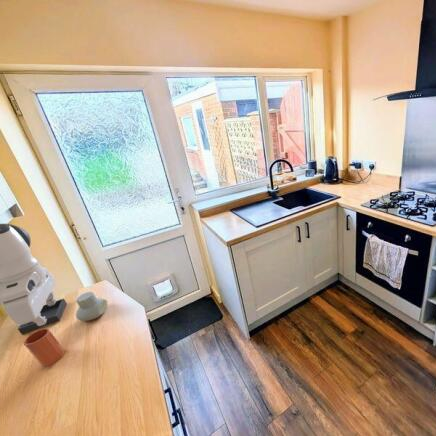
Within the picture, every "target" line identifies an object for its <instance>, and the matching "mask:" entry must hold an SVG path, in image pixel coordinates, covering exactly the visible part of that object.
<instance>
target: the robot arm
mask: <svg viewBox="0 0 436 436" xmlns="http://www.w3.org/2000/svg"><path fill="white" fill-rule="evenodd" d="M31 242H32V241H31V236H30V233H29V232H27V230H25V229H24V228H23V227H20V226H17V225H15V224H11V223H0V304H2V308H3V310H4V312H5V313H6V314H7V316H8V317H9V318H10V319H11V320H12V321H13V323H14V324H16V325H19V326H20V325H23V324H26V323H29V322H31V321H32V322H35V323H36V324H37V325H38V326H42V325H44V324H46V321H47V319H46V317H45V316H44V317H42V316H40V315H41V313H40V311H41V310H42V308H43V306H44V305H46V304H47V305H48V306H52V305H54V304H55V303H56V301H57V299H56V298H55V294H54V290H53V289H54V287H55V285H56V283H57V282H56V279H55V277H54V276H53V274H52V273H51V272H50V271H49V269H48V268H47V267H45V266H42V265H41V264H40V262H39V260H38V259H37V258H36V257H34V255H32V252H31V245H32V243H31Z"/></svg>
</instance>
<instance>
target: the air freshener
mask: <svg viewBox="0 0 436 436" xmlns="http://www.w3.org/2000/svg"><path fill="white" fill-rule="evenodd" d="M75 302H76V303H77V305H78V308H77V310H76V313H75V317H76V319H77V320H78V321H80V322H90V321H92V320H95V319H97V318H99V317H100V316H102V315H103V314H104V313H105V312H106V310H107V308H108V301H107V299H105V298H103V297H97V296H96V295H95V293H94V292H93V291H87V292H84V293H82V294H80V295H79V296H78V297H77V298H76V300H75Z"/></svg>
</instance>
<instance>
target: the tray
mask: <svg viewBox="0 0 436 436" xmlns="http://www.w3.org/2000/svg"><path fill="white" fill-rule="evenodd" d="M67 305H68V303H67V301H66V300H65V298H61V299H57V300H56V303H55V304H54V305H52V306H48V305H47V303H45V304H44V306H43V308H42V310H41V311H40V313H41V315H40V316H42V317H44V316H45V317H46V319H47V321H46V324H44V325H42V326H38V325H37V324H36V323H35V322H32V321H31V322H29V323H26V324H23V325H19V326H18V328H17V331H18V332H19V333H20V334H21V335H22V336H23V335H26V334H28V333H32V332H35V331H37V330H40V329H43V328H44V327H47V326H50V325H52V324H55V323H58V322H60V321H61V319H62V317H63V314H64V312H65V309H66V307H67Z"/></svg>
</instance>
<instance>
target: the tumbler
mask: <svg viewBox="0 0 436 436" xmlns="http://www.w3.org/2000/svg"><path fill="white" fill-rule="evenodd" d="M22 343H23V345H24V347H26V348H27V350H28V351H29V353H30V354H31V356H33V357H34V359H35V360H36V361H37V362H38V364H39V365H40V366H41V367H48V366H51V365H54V364H55V363H57V362H58V361H60V360H61V359H62V357H64V355H65V352H66V351H65V349H64V348H63V346H62V345H61V344H60V342H59V340H58V339H57V338H56V337H55V336H54V334H53V332H52V331H51V330H50V328H47V327H45V328H44V327H42V328H39V329H36V330H34V331H33V332H31V333H30V334H29V335H27V337H26V338H24V339H23V342H22Z"/></svg>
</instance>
